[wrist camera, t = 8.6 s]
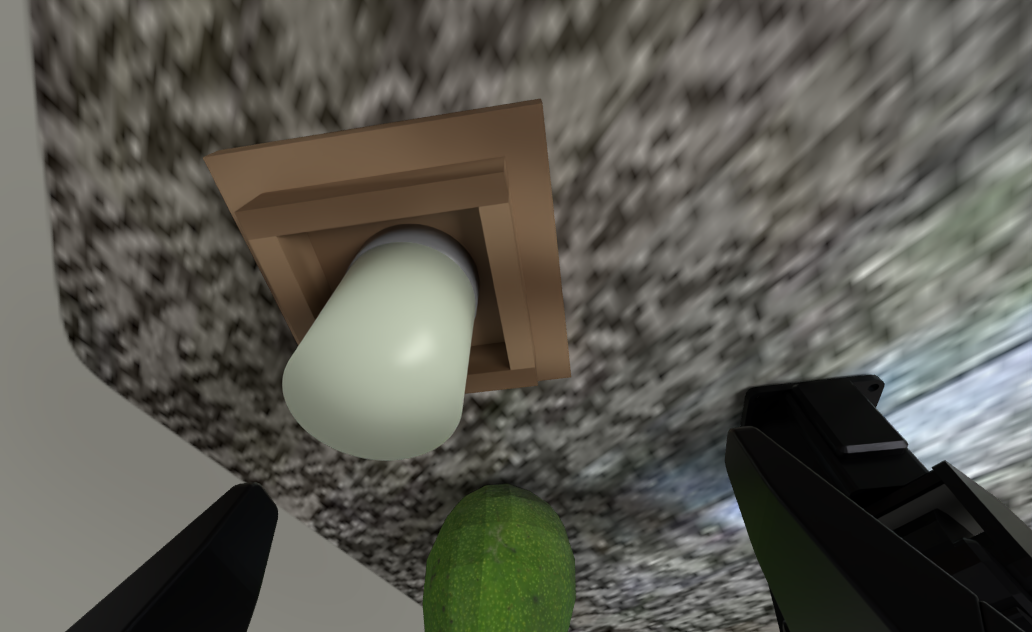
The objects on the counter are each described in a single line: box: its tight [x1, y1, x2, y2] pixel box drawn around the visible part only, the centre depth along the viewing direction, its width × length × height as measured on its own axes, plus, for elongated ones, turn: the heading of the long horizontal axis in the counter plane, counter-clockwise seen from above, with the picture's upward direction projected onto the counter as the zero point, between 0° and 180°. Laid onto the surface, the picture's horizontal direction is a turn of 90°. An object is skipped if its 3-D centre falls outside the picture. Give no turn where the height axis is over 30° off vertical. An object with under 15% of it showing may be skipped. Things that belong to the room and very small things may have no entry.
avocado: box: [423, 484, 576, 632], centre depth 23 cm, size 8×8×12 cm
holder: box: [203, 99, 571, 394], centre depth 18 cm, size 12×12×3 cm
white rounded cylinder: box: [282, 224, 480, 461], centre depth 16 cm, size 5×5×7 cm
